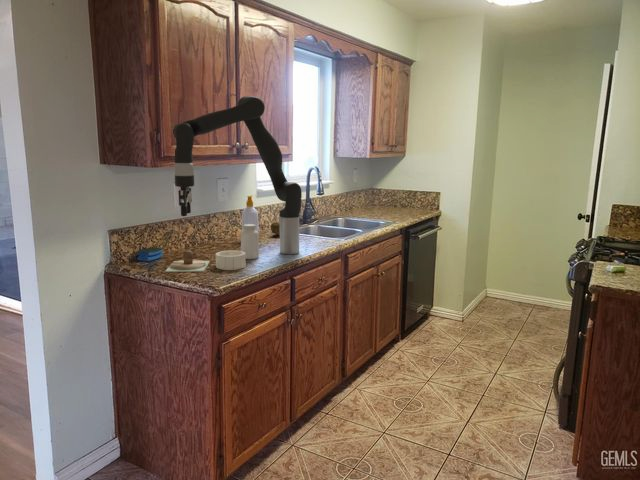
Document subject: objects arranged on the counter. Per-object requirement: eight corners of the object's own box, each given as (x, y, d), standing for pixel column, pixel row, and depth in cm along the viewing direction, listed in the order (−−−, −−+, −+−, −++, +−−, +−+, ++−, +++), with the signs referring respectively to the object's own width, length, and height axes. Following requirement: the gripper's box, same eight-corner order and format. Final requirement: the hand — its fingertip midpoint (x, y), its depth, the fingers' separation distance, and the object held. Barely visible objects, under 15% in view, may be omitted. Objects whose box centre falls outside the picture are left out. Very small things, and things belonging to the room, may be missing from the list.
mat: (174, 262, 209) (174, 261, 209) (209, 261, 211) (209, 260, 210) (165, 272, 193) (165, 270, 193) (203, 271, 194) (203, 270, 194)
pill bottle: (251, 260, 214) (250, 226, 211) (237, 258, 218) (236, 225, 215) (262, 257, 221) (262, 224, 218) (248, 254, 225) (248, 222, 222)
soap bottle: (260, 239, 263) (259, 195, 259) (256, 242, 254) (255, 197, 250) (245, 238, 264) (244, 194, 260) (240, 241, 255) (239, 196, 251)
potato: (291, 234, 278) (291, 220, 276) (277, 238, 267) (277, 223, 265) (279, 233, 282) (279, 219, 280) (265, 236, 271) (265, 222, 270)
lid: (174, 261, 208) (174, 248, 207) (207, 261, 209) (207, 247, 208) (167, 270, 194) (166, 255, 193) (203, 269, 195) (202, 255, 194)
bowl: (218, 263, 208) (217, 250, 207) (246, 262, 210) (246, 250, 208) (214, 270, 197) (214, 256, 196) (244, 269, 198) (244, 256, 197)
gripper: (190, 175, 188) (192, 217, 191) (196, 173, 202) (198, 212, 205) (170, 175, 187) (173, 217, 190) (178, 173, 201) (180, 212, 204)
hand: (186, 214), depth 198 cm, fingers open, 8 cm apart
